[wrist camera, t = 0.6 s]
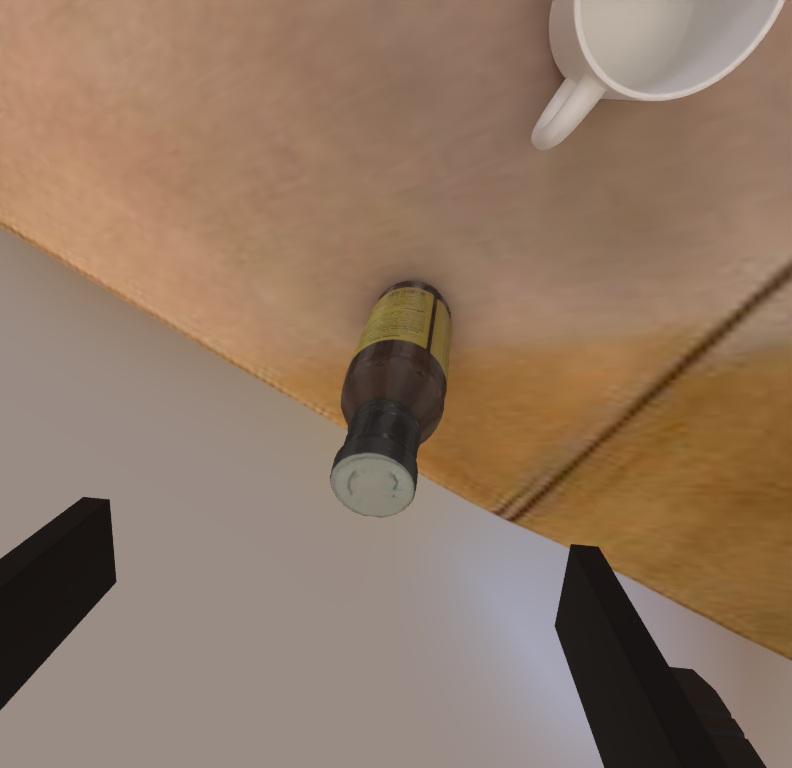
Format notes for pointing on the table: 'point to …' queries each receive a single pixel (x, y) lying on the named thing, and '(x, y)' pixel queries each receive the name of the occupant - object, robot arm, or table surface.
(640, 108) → the table surface
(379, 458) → the sauce bottle
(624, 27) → the cup
